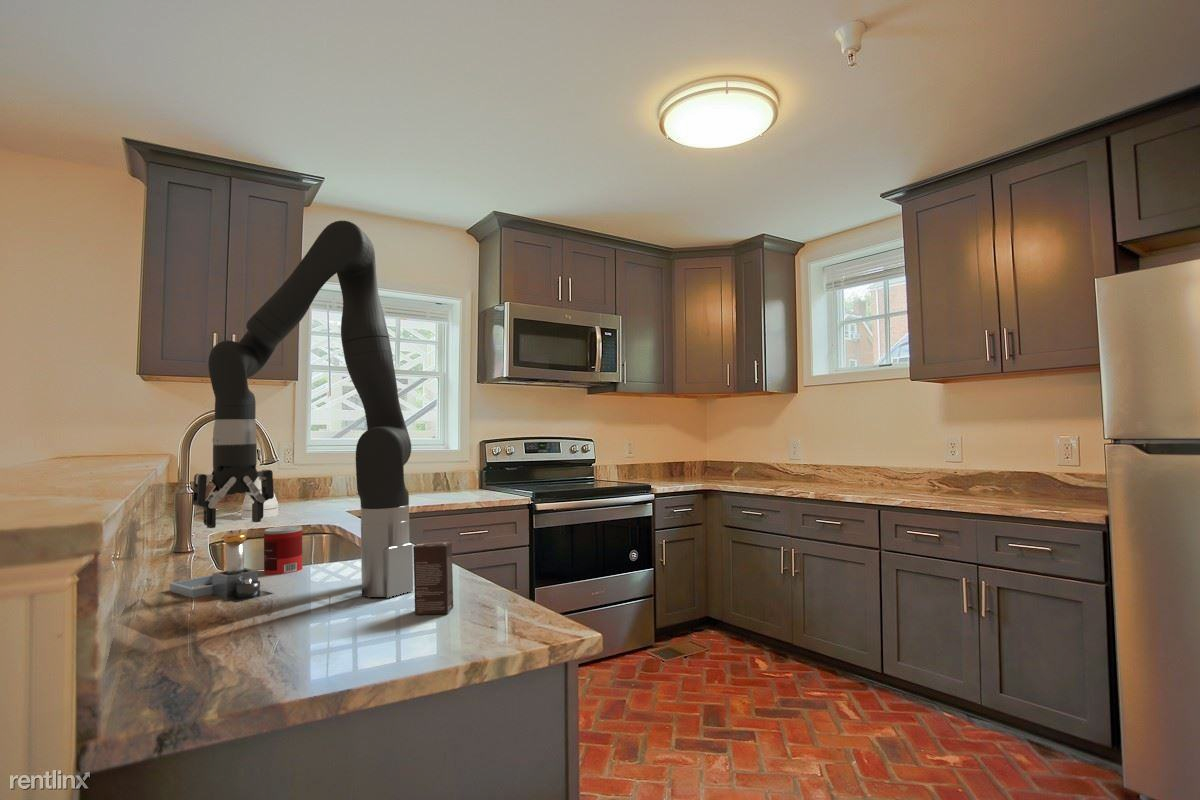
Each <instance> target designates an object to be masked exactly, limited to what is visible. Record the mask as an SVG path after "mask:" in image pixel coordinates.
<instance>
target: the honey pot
mask: <svg viewBox="0 0 1200 800" xmlns="http://www.w3.org/2000/svg"><path fill="white" fill-rule="evenodd" d="M254 484H255V486H256V487H257V488H258V489H259V491H260V493H261V494H262V488H261V481H260V480H259V477H257V479H256V480H255V482H254ZM273 489H274V486H273ZM242 502H243V503H241V507H240V508H241V518H242V517H243V518H252V503H254V501H253V500H252V499H251V498H250V496H249V495H247V494H246V493H245V495H244V499H243V501H242ZM279 510H280V508H279V502H278V500H277V497H276V493H274V497H273V498H272V499H268V500H266V501H265V502H264V504H263V517H271V516H277V515H280V514H279ZM277 517H278V516H277Z"/></svg>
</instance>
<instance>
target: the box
mask: <svg viewBox="0 0 1200 800" xmlns="http://www.w3.org/2000/svg"><path fill="white" fill-rule="evenodd" d="M452 547H453V543H452V541H440V542H439V541H436V542H435V541H434V542H432V541H431V542H419V543H417V544H415V545H413V591H414V614H415V616H416V615H435V614H441V615H442V614H446V615H448V614H449V613H451V611H452V609H454V586H453V585H454V584H453V583H454V581H453V548H452Z"/></svg>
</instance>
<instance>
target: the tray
mask: <svg viewBox="0 0 1200 800" xmlns="http://www.w3.org/2000/svg"><path fill="white" fill-rule="evenodd" d="M210 584H211V585H210ZM204 585H206V586H204ZM199 586H201V587H199ZM169 592H170V593H175V594H177V595H182V596H185V597H188V598H192V599H195V598H199V597H202V596H203V597H204V596H209V594H213V575H212V574H211V575H209V574H208V575H205V576H200V577H196V578H191V579H185V580H180V581H175V582H169Z"/></svg>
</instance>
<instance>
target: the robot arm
mask: <svg viewBox="0 0 1200 800" xmlns="http://www.w3.org/2000/svg"><path fill="white" fill-rule="evenodd" d="M376 265H377V264H376V252H375V248H374V244H373V243H372V241H371V239H370V238H369V237H368V236H367V234H365V232H364V231H363V230H362V229H361V228H360V227H359V226H358V225H357V224H355V223H354V222H351V221H349V220H337V221H336V220H335V221H334V222H331V223H329V224H328V225H327V226H325V227H324V229H322V231H321V232H320V233H319V235H318V236H317V238H316V240H315V241H314V242H313V244H312V245H311V247H310V248H309V249H308V251H307V252H306V254H305V255H304V256H303V258H301V261H300V262H299V263H298V265H297V266H296V267H295V269H294V270H293V271H292V273H290V275H288V277H287V278H286V280H285V281H284V282H283V283H282V285H281V286H279V288H278V289H277V290H276V291H275V292H274V293H273V294H272V296H270V298H268V299H267V300H266V301H265V303H263V304H262V306H260V308H259V309H257V310H256V312H255V313H254V314H252V316H251V317H250V318H248V320H247V322H246V325H245V326H246V327H245V328H246V330H247V332H246V333H245V334H244V335H243V337H242V338H241V339H240V340H239V341H238V342H237V341H234V340H222V341H220V342H217V343H216V344H215V345H214V346H213V347H212V349H211V350H210V353H209V357H208V363H207V364H208V373H209V379H210V383H211V387H212V391H213V394H214V398H215V399H214V425H213V429H212V430H213V431H212V440H211V442H212V468H213V469H212V472H211V474H204V473H196V474H195V475H194V477H193V488H192V505H193V506H195V507H196V506H197V507H201V508H203V524H204V526H206V528H208V529H215V528H216V524H217V523H216V522H217V510H216V508H215V507H216V505H217V504H218V503H219V502H220V501H221V499H223V498H224V497H225V496H226V495H229V496H230V495H234V494H235V495H236V494H245V495H246V494H247V495H249V496H250V498H251V499H252V500H253V501H254V503H252V520H251V521H252V522H253V523H261V521H262V520H263V519H262V518H263V504H264V502H265V501H266V500H268V499H272V498H273V497H274V494H275V492H274V488H273V487H274V474H273V471H272V470H271V469H261V470H259V471H258V470H257V461H258V460H257V454H258V453H257V448H258V447H257V443H258V440H257V439H258V430H257V429H258V428H257V423H256V413H257V412H256V410H257V409H256V406H257V405H256V404H257V403H256V397H255V394H254V393H253V392H252V391H251V390H250V388H249V384H248V378H251V377H252V376H255V375H256V374H257V373H258V372H259V371H261V370H262V368H264V366H265V365H266V364H267V362H268V360H270V358H271V356H272V355H273V353H274V352H275V350H276V348H277V346H278V345H279V344H280V342H282V341H283V340H284V339H285V337H286V336H288V335H290V333H291V332H292V331H293V329H295V328H296V327H297V326H298V325H299V323H300V322H301V321H302V320H303V318H304V317H305V315H306V314H307V312H308V311H309V309H310V307H311V305H312V303H313V302H314V300H315V298H316V296H318V293H319V292H320V291H321V290H322V288H323V287H324V285H325V284H326V283H327V282H328V281H329V280H330V279H332V277H334V276H335V275H337V278H338V283H339V286H340V290H341V296H342V311H341V312H342V314H341V322H340V338H341V344H342V345H341V346H342V351H343V357H344V361H345V365H346V369H347V372H348V375H349V378H350V379H351V381H352V383H353V386H354V387H355V390H356V392H357V394H358V396H359V398H360V401H361V404H362V406H363V410H364V414H365V421H366V428H367V429H366V431H364V432H363V433H362V434H361V435H360V437H359V439H358V441H357V444H356V448H355V475H356V489H357V490H356V491H357V494H358V496H359V500H360V551H361V552H360V555H361V556H360V558H361V562H360V563H361V596H363V595H364V596H363V597H365V596H368V597H367V598H370V597H386V598H385V599H389V597H390V598H393V597H392V596H394V597H397V596H401V595H404V594H407V592H408V593H412V592H414V554H413V547H414V545H413V544H412V543H411V542H410V507H409V506H410V499H409V498H410V494H409V491H408V489H407V487H406V483H405V472H404V469H405V468H404V466H405V465H406V463H408V461H409V459H410V457H411V454H412V442H411V438H410V435H409V432H408V428H407V425H406V422H405V418H404V415H403V412H402V408H401V404H400V399H399V393H398V386H397V385H398V384H397V378H396V376H397V375H396V371H395V364H394V359H393V352H392V347H391V341H390V335H389V332H388V327H387V323H386V319H385V315H384V311H383V306H382V304H381V299H380V296H379V290H378V281H377V280H378V278H377V268H376V267H377V266H376ZM257 477H259V480H260V481H261V488H262V494H261V493H260V491H259V489H258V488H257V487H256V486H255V484H254V482H255V480H256V479H257ZM210 481H211V482H212V483H213V484H214V487H213V488H212V489H211V491H209V493H208V496H207V495H206V492H207V486H208V485H209V484H210ZM206 496H207V497H206ZM403 593H404V594H403ZM400 594H401V595H400ZM396 595H397V596H396Z"/></svg>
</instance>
